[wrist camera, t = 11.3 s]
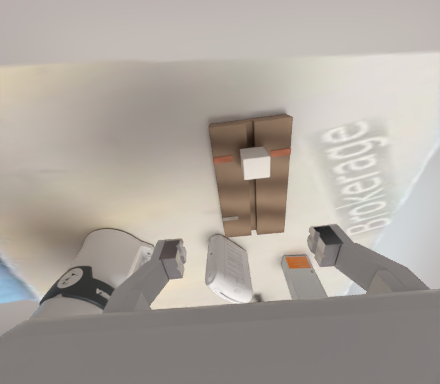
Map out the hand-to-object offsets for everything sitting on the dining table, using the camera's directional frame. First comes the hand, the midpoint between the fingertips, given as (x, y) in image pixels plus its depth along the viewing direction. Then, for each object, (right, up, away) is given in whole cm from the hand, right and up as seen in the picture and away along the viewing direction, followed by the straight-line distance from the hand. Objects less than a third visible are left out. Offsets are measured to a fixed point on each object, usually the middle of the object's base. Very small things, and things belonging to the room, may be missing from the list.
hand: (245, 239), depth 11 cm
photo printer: (0, -10, +31) cm, 33 cm away
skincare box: (+17, -14, +34) cm, 40 cm away
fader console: (+4, +5, +22) cm, 23 cm away
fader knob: (+3, +9, +18) cm, 20 cm away
